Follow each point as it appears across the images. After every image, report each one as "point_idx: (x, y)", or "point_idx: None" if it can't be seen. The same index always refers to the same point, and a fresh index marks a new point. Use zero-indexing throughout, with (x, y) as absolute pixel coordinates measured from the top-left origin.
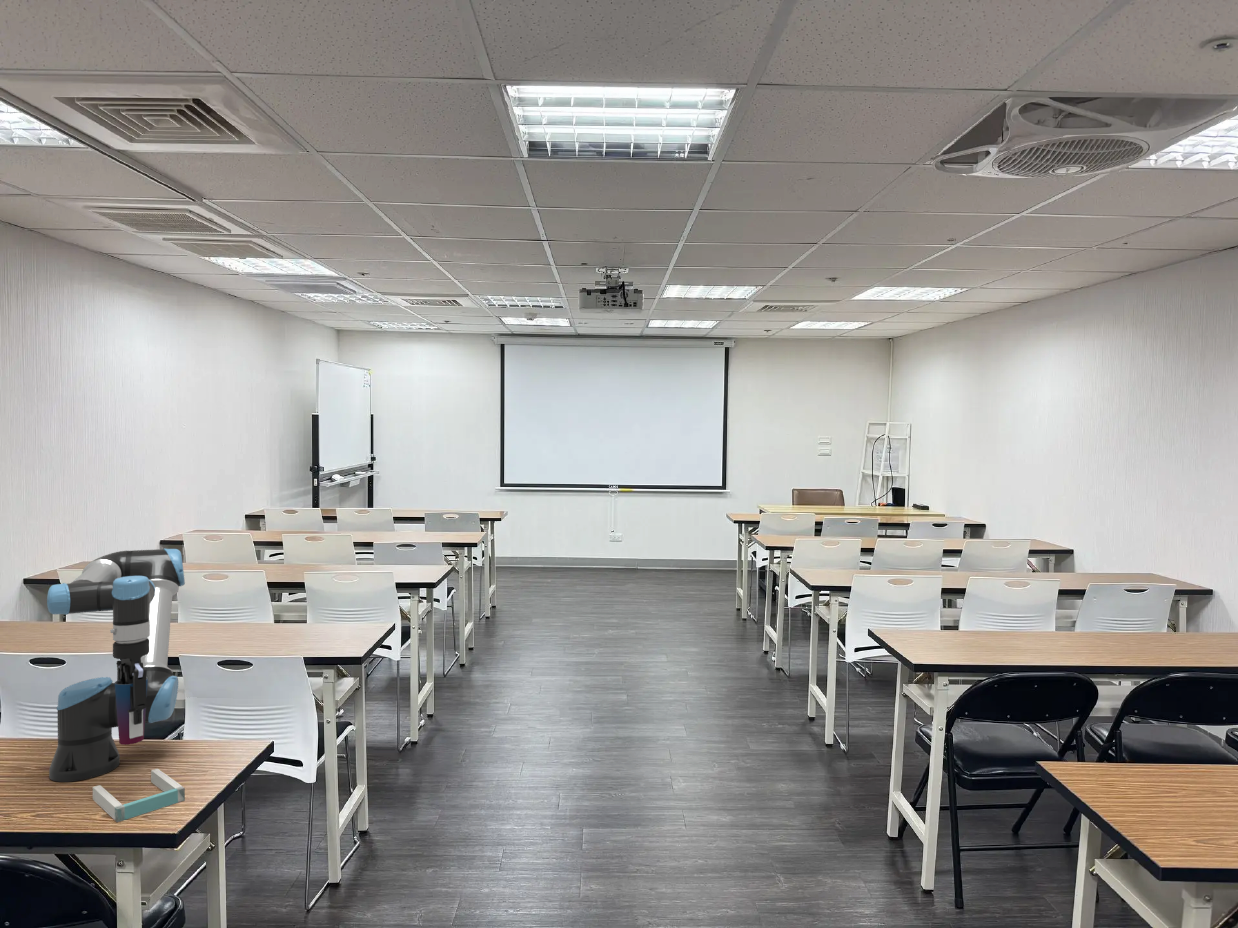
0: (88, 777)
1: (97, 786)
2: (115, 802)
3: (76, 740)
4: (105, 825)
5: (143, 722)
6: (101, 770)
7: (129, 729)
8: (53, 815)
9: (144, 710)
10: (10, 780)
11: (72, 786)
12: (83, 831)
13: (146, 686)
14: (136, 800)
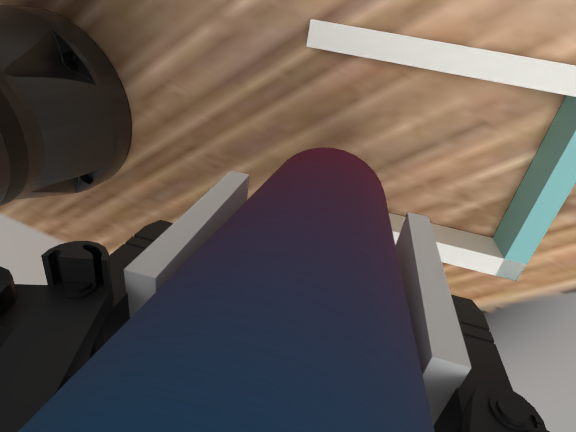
0: (129, 137)
1: None
2: (462, 256)
3: (7, 192)
4: (487, 277)
5: (385, 223)
6: (119, 105)
7: None
8: None
9: (389, 275)
10: (18, 221)
11: (154, 181)
12: None
13: None
14: (522, 224)
